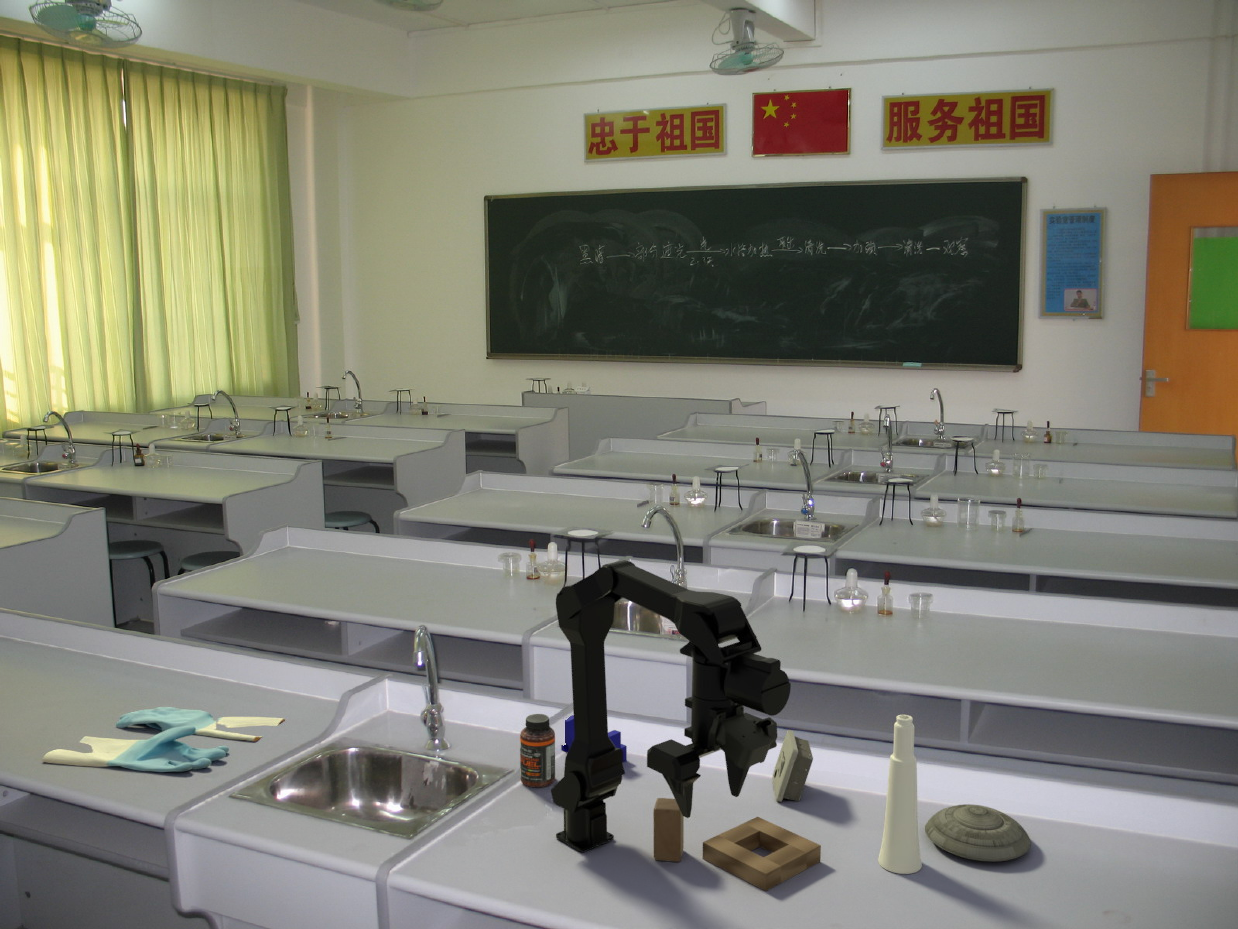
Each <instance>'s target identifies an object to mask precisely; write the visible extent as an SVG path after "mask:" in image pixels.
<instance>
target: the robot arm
mask: <svg viewBox="0 0 1238 929" xmlns="http://www.w3.org/2000/svg"><path fill="white" fill-rule="evenodd" d="M623 599H624V600H628V601H630V602H632V603H634V604H636V605H638V606H639V607H642V608H643V609H646V610H648V611H650V612H652V613H655V614H656V615H659V616H661V617H662V618H665V619H667V620H669V621H670V622H671V623H673V625H675V626H674V627H675V628H676V630H677V632H678V634H680V635H681V636H682V637H684V638H685V639H686V640H688V643H686V644H684V645H683V646H682V647H680V648H679V653H680V654H681V655H684V656H686V657H690V658H692V659H691V660H692V661H691V662H692V664H691V666H692V667H691V668H692V669H691V670H692V671H691V672H692V673H691V696H689V697H686V698H684V707H687V708H689V709H690V710H691V711H690V712H691V716H690V718H691V719H690V720H691V721H690V722H691V723H690V726H688V727H685V728H684V731H683V732H684V734H683V735H684V737H686V738H688V739H690V740H691V742H690V744H689V743H688V744H686V745H685V744H683V743H681V742H678V741H676V740H673V739H668V740H665V741H663V742H660V743H657V744H654V745H652V746H651V747H649V748H648V749H647V750H646V751H647V752H646V768H649V769H650V770H653V771H655V772H657V773H659V774H661V775H662V777H663V778H664V780H665V781H666V783H667V785H668V786H669V789H670V791H671V793H672V795H673V799H675V800H676V802H677V804H678V806H679V809H680V811H681V813H682V815H683V816H684V817H685V818H687V819H689V818H690V817H691V814H692V809H693V795H694V794H693V792H694V791H693V790H694V783H695V782H696V781H697V780H698V779H700V778H701V774H700V773H698V771H699V769H700V768H701V758H705V757H706V756H708V755H711V754H713V753H716V752H719V751H723V753H724V759H725V765H726V773H727V774H726V775H727V779H728V780H727V781H728V786H729V790H730V794H731V796H733V797H735V798H737V797H739V796H740V795H741V791H742V789H743V787H744V784H745V780H746V778H747V776H748V772H749V771H750V768H752V766H754V765H757V764H759V763H760V764H762V763H764V762H765V760H766V758H767V755H768V752H769V750H772V749H774V748H777V746H778V745H777V744H778V743H777V739H778V724H777V722H776V721H775V720H774V719H773V718H772V717H771V716H773V717H774V716H776V715H778V714H780V713H781V712H782V711H783V710H784V709H785V707H786V705H787V704H788V701H789V698H790V694H791V687H792V686H791V682H790V681H789V676H788V675H787V673H786V672H785V671H784V670H783V669H781V668H782V667H781V660H780V659H777V658H774V657H766V656H762V655H761V654H757V653H760V652H762V646H761V644H760V642H759V639H758V638H757V637H758V636H757V635H756V634H755V632H754V630H753V628H752V626H751V623H750V622H749V620H748V618H747V616H746V614H745V611H744V610H743V608H742V603H741V602H740V601H739V600H738V599H737V598H736V597H734V596H732V595H728V594H723V593H718V592H713V591H711V592H710V591H696V590H691V589H688V588H686V587H683V586H681V585H679V584H676V583H674V582H673V581H670V580H667V579H666V578H663V577H661V576H659V575H657V574H654V573H652V572H651V571H650V572H649V571H647V570H646V569H643V568H640V567H638V566H637V565H636V564H635V563H633V562H632V561H629V560H626V559H622V560H619V561H613V562H609V563H606V564H603V565H602V566H601V567H598V569H596V571H594V572H592V573H591V574H589V575H588V576H586V577H585V578H582V579H581V580H579V581H577V582H575V583H573V584H571V585H566V586H564V587H562V588H561V589H560V590H559V592H558V593H556V596H555V608H556V609H555V610H556V615H557V622H558V626H559V629H560V630H561V631H562V632H561V633H563V634H564V636H565V638H566V639H567V640H568V642H569V644H570V645H569V646H570V662H571V663H570V665H571V666H570V667H571V668H570V669H571V687H572V706H573V707H572V708H573V709H572V710H573V711H572V712H573V715H574V734H575V736H574V740H573V742H572V745H571V747H570V749H569V751H568V753H567V752H566V755H565V759H564V772H563V773H564V774H563V777H562V778H561V779H560V780H559V781H558V782H557V783H555V785H554V786H553V787H552V788H550V793H551V799H552V802H553V804H554V805H555V806H558V807H560V808H562V809H563V830H562V831H559V832H557V833H556V834H555V838H556V839H558V840H559V841H561V842H563V843H564V844H567V845H568V846H569V847H572V848H573V849H575V850H576V851H578V852H580V853H584V852H588V851H589V850H592V849H593V848H597V847H598V846H601V845H603V844H605V843H608V842H610V841H613V840H614V838H615V836H614V834H612V833H611V832H609V831H608V816H607V807H606V806H607V803H606V802H605V800H607V799H608V798H612V797H615V796H616V794H617V790H618V787H619V785H621V784H622V781H623V776H624V775H625V774H626V773H625V768H624V762H623V751H622V749H621V748H616V747H615V745H614V744H613V743H612V741H611V740H610V738H609V736H608V732H609V725H608V724H609V723H608V703H607V682H606V681H607V679H606V658H605V657H606V656H605V655H606V653H605V641H606V638H607V636H608V634H609V632H610V630H611V628H612V625H613V623H614V618H615V608H616V607H615V606H616V604H618V602H620V601H621V600H623ZM735 639H737V640H738V641H737V642H734V643H731V644H729V645H725V646H720V644H723V643H725V642H727V643H728V642H730V641H733V640H735ZM745 707H746V708H748V709H751V710H754V711H757V712H759V713H763V714H765V715H767V716H769V717H766V718H761V717H759V716H756V715H754V714H751V713H749V712H744V710H745Z"/></svg>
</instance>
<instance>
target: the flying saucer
mask: <svg viewBox="0 0 1238 929" xmlns="http://www.w3.org/2000/svg"><path fill="white" fill-rule="evenodd" d="M924 830H925V834H926V836H927V838H928V839H929V840H930V841H931V842H932V843H933V844H934V845H935V846H937V847H938V848H940V849H941V850H943V851H946V852H948V853H950V854H953V855H955V856H957V857H960V858H965V859H969V860H973V861H979V862H1003V861H1005V862H1006V861H1011V860H1014V859H1017V858H1020V857H1021V856H1023V855H1025V854H1027V852H1028V851H1029V850H1030V848H1031V847H1032V846H1031V845H1032V841H1031V838H1030V836H1029V833H1027V831H1026V830H1025V828H1024V827H1023V826H1022V825H1021V824H1020V823H1019V822H1018V821H1017V820H1016V819H1014V818H1013V817H1011V816H1009V815H1008V814H1007V813H1004V812H1002V811H1000V810H998V809H995V808H992V807H989V806H984V805H981V804H980V805H979V804H969V803H967V804H957V805H953V806H948V807H945V808H943V809H941V810H939V811H937V812H936V813H935V814H933V815H932V816H931V817H930V818H929V819H928V820H927V822H926V824H925V826H924Z"/></svg>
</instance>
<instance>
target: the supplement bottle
mask: <svg viewBox="0 0 1238 929" xmlns="http://www.w3.org/2000/svg"><path fill="white" fill-rule="evenodd" d="M524 725H525V727H524V728H523V729H522V730H521V731H520V734H519V735H520V736H519V745H520V746H519V747H520V748H519V753H520V755H519V759H520V760H519V764H520V769H519V772H520V775H519V776H520V781H521V783H522V784H523V785H525V786H527V787H531V788H543V787H547V786H550V785H551V784H553V783H554V782H555V780H556V733H555V730H554V729H553V728H552V727H551V726H550V717H549V715H547V714H545V713H544V714H543V713H534V714H533V713H532V714H529V715H528V716H526V717H525V724H524Z"/></svg>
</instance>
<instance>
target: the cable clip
mask: <svg viewBox="0 0 1238 929" xmlns="http://www.w3.org/2000/svg"><path fill="white" fill-rule="evenodd" d="M569 716H570V717H569ZM569 716H568V717H569V718H568V719H567V720H565V743H566V745H564V746H563V745H561V744H560V746H561V748H560V750H561V751H562V752H564V753H566V754H567V753H568V751H569V749H570V747H571V745H572V742H573V740H574V736H575V734H574V714H572V715H569ZM608 736H609V738H610V740H611V741H612V743H613V744H614V745H615V747H616V748H621V749H622V751H623V763H626V762H627V757H628V756H627V753H628V752H627V748H628V747H627V745H626V744H623V743H622V731H619V730H616V729H613V730H610V731H608Z"/></svg>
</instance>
